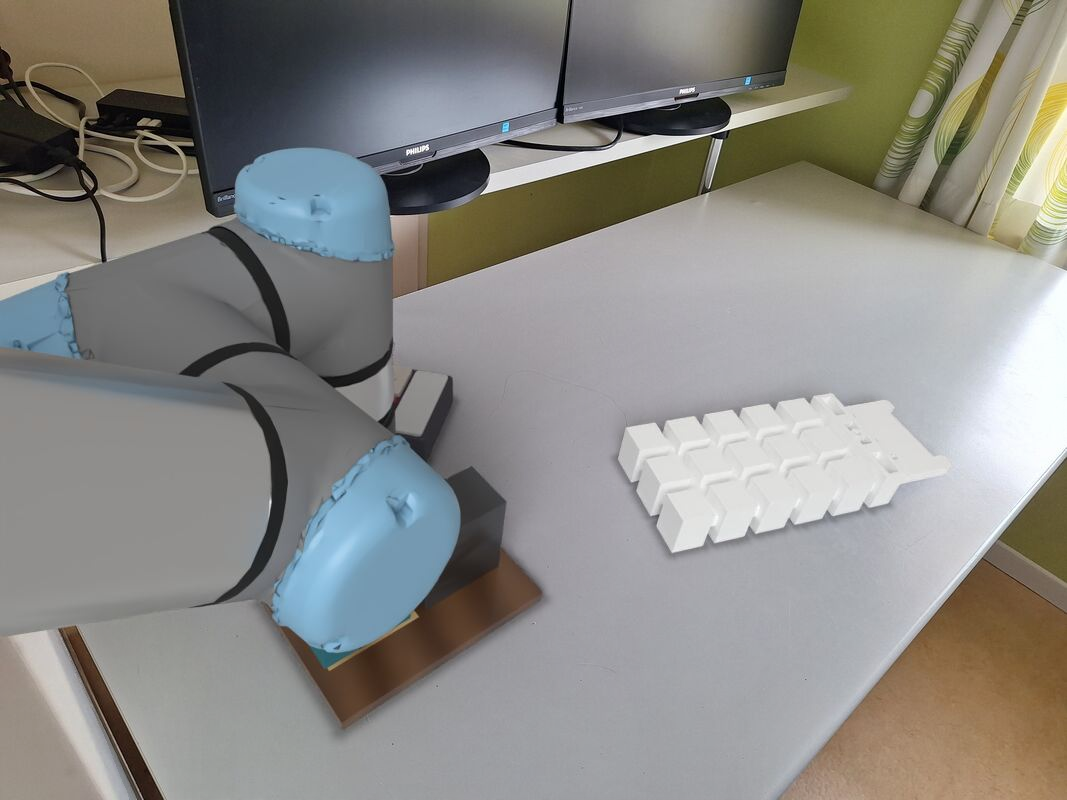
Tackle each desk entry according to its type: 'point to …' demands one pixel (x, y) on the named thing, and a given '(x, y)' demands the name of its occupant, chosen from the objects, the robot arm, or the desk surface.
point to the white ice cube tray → (770, 466)
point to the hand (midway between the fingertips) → (353, 611)
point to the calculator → (421, 406)
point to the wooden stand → (431, 613)
